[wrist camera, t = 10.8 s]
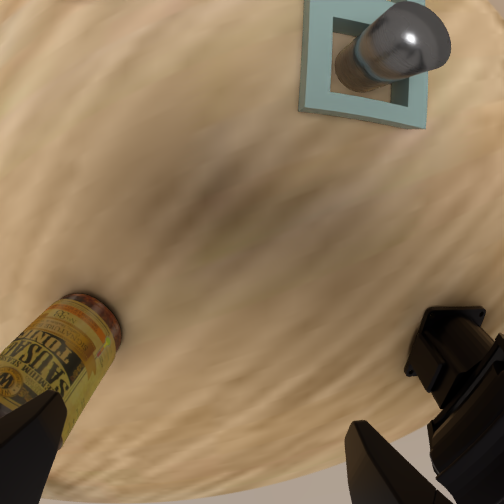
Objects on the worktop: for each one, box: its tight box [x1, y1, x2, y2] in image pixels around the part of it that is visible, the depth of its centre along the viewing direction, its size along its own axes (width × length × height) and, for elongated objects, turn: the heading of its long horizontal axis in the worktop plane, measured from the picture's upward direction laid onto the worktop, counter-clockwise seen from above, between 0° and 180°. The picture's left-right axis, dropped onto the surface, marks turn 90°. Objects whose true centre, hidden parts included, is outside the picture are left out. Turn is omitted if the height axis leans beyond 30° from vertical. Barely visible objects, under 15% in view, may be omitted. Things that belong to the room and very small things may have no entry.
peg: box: [335, 1, 451, 92], centre depth 12 cm, size 3×3×8 cm
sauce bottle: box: [0, 294, 121, 451], centre depth 13 cm, size 7×6×20 cm
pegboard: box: [298, 0, 428, 129], centre depth 14 cm, size 7×13×2 cm, turn 176°
